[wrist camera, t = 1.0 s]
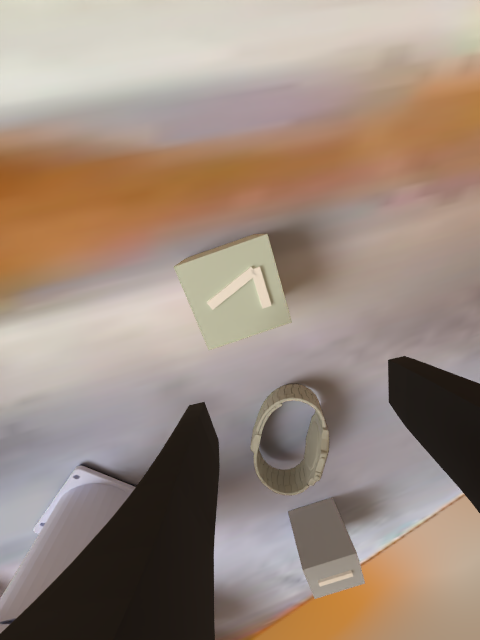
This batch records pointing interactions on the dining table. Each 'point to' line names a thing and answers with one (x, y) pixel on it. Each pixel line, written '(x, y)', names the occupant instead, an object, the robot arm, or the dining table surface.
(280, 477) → the wristwatch
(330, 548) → the block marked 1
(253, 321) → the block marked 7
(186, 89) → the dining table surface
